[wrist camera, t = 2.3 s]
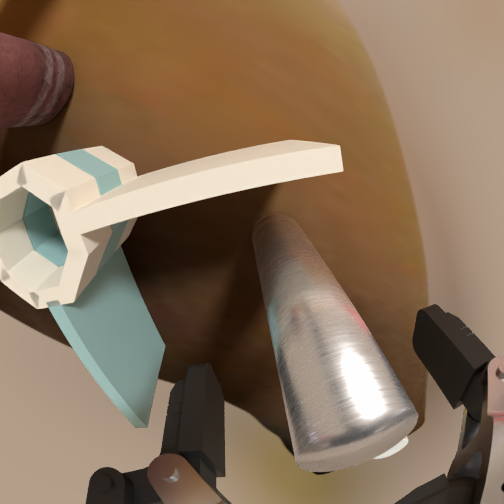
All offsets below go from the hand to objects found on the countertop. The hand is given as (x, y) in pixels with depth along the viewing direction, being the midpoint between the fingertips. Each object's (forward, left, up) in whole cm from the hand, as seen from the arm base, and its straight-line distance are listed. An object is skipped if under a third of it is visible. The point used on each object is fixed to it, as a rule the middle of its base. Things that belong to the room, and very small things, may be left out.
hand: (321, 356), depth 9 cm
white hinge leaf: (-6, -7, -12) cm, 15 cm away
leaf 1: (-1, -12, -12) cm, 17 cm away
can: (-16, -14, -12) cm, 25 cm away
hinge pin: (0, 0, -12) cm, 12 cm away
